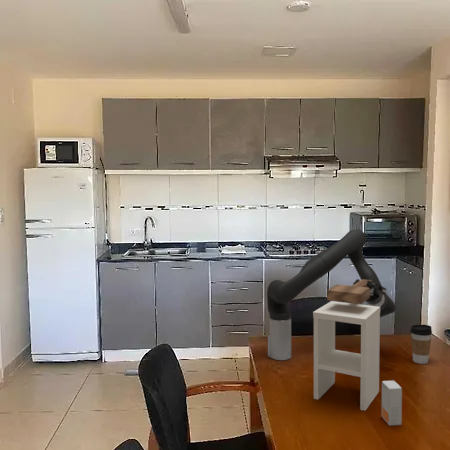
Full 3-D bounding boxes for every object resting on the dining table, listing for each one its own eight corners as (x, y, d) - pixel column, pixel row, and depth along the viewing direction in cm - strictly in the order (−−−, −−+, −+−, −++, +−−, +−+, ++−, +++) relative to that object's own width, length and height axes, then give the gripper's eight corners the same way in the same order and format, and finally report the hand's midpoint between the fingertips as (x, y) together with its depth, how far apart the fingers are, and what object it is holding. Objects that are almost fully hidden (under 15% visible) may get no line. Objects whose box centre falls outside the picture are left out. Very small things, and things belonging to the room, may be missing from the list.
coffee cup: (433, 365, 199) (434, 329, 198) (411, 364, 201) (412, 328, 200) (429, 358, 207) (429, 323, 206) (408, 357, 209) (408, 323, 208)
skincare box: (380, 416, 157) (381, 380, 156) (393, 416, 157) (394, 380, 156) (388, 426, 151) (389, 388, 150) (402, 425, 151) (402, 387, 150)
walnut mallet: (327, 300, 170) (327, 290, 170) (351, 284, 193) (351, 275, 193) (361, 304, 164) (361, 293, 163) (382, 287, 187) (382, 278, 187)
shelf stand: (313, 399, 170) (313, 312, 168) (331, 381, 185) (331, 300, 183) (364, 411, 161) (365, 319, 158) (379, 391, 176) (380, 306, 173)
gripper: (357, 285, 203) (346, 271, 190) (392, 289, 196) (383, 274, 182) (354, 302, 201) (342, 289, 187) (389, 307, 193) (380, 293, 180)
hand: (362, 282), depth 185 cm, fingers closed on walnut mallet, 3 cm apart
